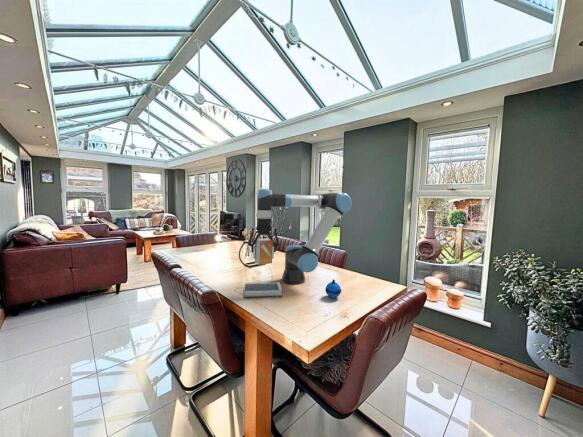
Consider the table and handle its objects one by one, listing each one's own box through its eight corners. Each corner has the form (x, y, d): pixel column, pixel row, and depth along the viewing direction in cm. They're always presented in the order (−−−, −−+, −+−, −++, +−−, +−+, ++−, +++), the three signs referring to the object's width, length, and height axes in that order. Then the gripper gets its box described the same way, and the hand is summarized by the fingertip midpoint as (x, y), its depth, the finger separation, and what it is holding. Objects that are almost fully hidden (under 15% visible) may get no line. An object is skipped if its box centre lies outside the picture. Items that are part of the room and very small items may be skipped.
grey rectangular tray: (279, 288, 147) (279, 281, 147) (281, 297, 134) (282, 289, 134) (244, 289, 144) (244, 282, 143) (244, 298, 131) (244, 291, 131)
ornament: (322, 295, 139) (323, 277, 138) (335, 293, 142) (336, 276, 141) (330, 301, 131) (331, 283, 130) (344, 299, 134) (344, 281, 133)
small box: (259, 265, 133) (259, 241, 131) (254, 262, 138) (254, 239, 137) (272, 263, 137) (273, 240, 136) (267, 260, 142) (267, 238, 141)
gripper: (283, 217, 141) (282, 256, 143) (243, 217, 137) (243, 256, 139) (285, 218, 133) (284, 259, 135) (243, 218, 130) (242, 260, 132)
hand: (263, 258), depth 137 cm, fingers closed on small box, 10 cm apart
